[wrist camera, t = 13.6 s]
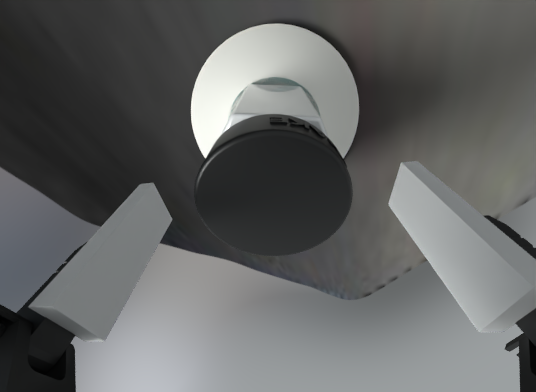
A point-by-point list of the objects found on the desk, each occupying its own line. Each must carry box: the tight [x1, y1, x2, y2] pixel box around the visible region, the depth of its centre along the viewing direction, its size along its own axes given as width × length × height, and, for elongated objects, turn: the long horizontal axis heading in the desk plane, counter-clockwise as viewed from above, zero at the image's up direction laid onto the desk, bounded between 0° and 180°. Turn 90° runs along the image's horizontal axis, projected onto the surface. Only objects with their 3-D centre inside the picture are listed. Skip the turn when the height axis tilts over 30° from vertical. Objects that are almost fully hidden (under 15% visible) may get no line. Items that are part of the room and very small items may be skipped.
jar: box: [194, 84, 353, 256], centre depth 16 cm, size 9×8×12 cm
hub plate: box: [191, 24, 359, 159], centre depth 21 cm, size 16×16×1 cm
